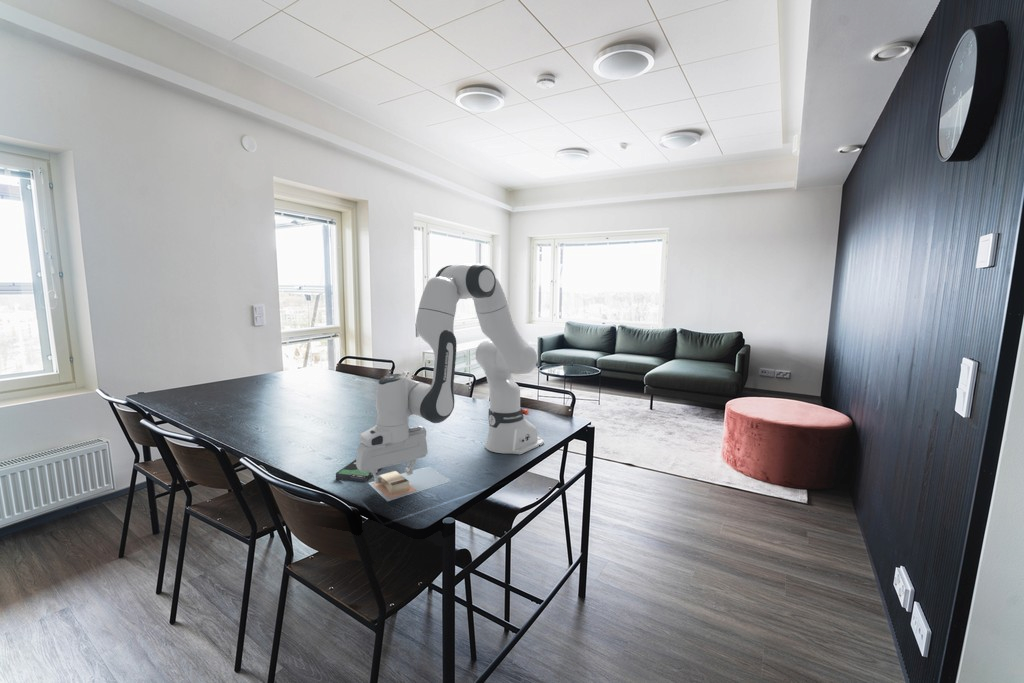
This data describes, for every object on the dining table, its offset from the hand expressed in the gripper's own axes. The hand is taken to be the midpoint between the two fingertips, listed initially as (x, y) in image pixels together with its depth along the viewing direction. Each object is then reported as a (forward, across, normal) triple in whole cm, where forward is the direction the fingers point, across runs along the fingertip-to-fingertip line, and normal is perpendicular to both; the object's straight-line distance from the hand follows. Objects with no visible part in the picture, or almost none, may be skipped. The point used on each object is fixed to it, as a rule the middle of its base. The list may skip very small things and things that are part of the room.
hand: (393, 478), depth 123 cm
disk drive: (+4, +3, -17) cm, 18 cm away
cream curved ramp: (+2, 0, 0) cm, 2 cm away
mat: (+3, -5, 0) cm, 6 cm away
